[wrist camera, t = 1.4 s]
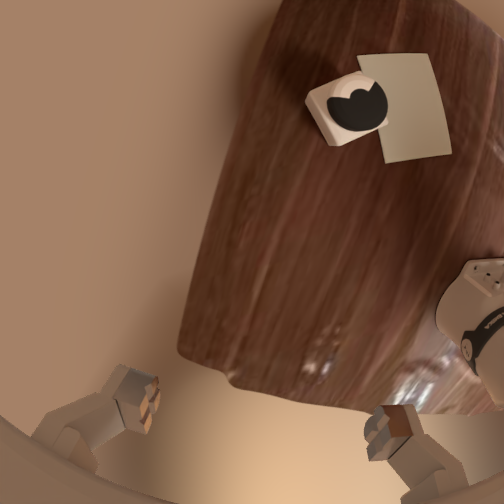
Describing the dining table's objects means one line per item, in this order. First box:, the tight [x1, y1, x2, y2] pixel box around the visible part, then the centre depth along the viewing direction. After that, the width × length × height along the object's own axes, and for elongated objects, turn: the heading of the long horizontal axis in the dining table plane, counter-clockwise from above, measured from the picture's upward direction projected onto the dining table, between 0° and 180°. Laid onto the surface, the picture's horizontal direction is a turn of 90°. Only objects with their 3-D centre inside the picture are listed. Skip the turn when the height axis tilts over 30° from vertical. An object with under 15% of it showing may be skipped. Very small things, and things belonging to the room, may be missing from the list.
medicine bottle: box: [305, 71, 388, 146], centre depth 28 cm, size 7×7×12 cm
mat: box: [357, 53, 452, 163], centre depth 31 cm, size 12×16×1 cm
